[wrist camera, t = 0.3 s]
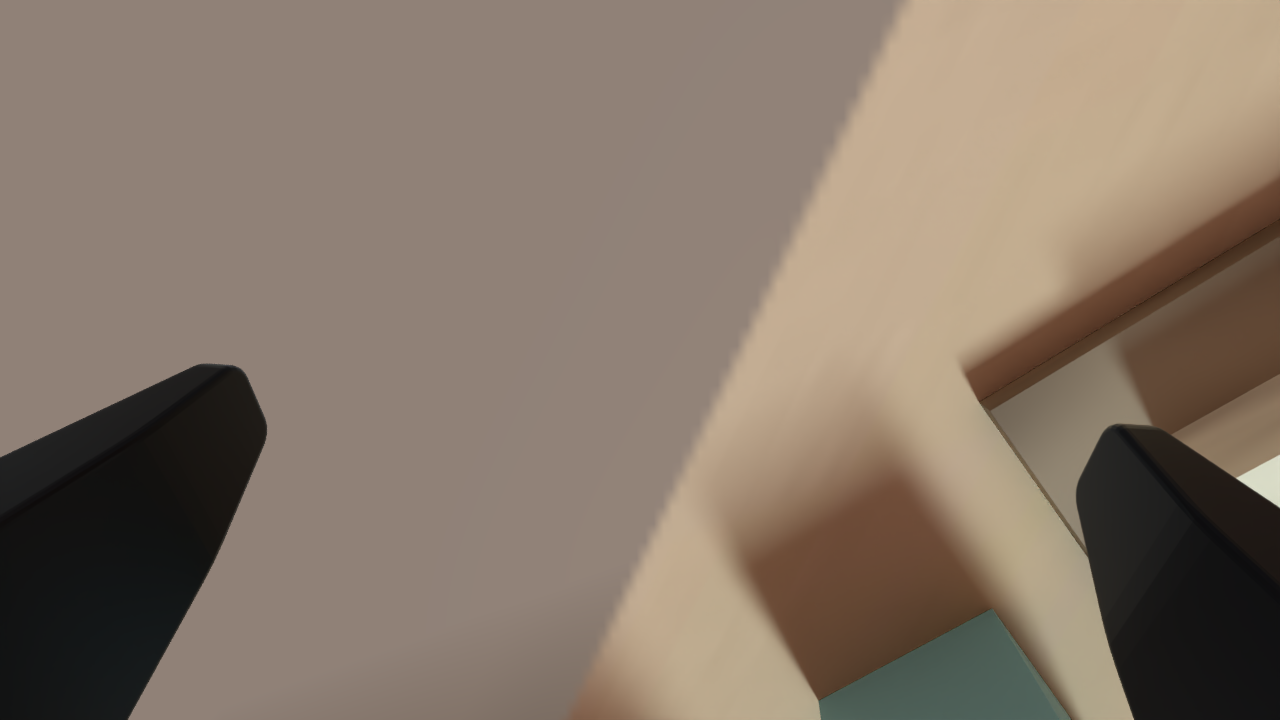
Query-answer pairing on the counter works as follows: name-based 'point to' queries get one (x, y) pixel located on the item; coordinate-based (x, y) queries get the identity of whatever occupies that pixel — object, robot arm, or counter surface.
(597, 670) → the counter surface
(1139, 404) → the plate
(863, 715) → the teal block
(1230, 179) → the counter surface
